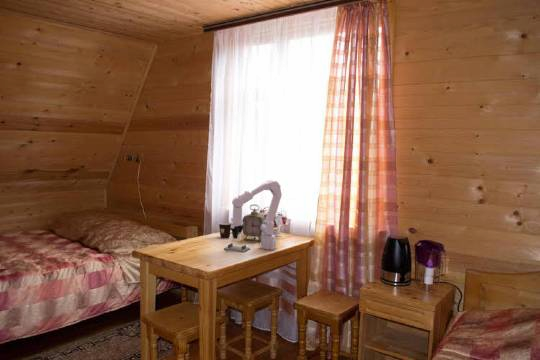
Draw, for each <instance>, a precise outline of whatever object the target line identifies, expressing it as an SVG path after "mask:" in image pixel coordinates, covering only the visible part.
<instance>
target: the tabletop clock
mask: <svg viewBox="0 0 540 360" xmlns="http://www.w3.org/2000/svg"><path fill="white" fill-rule="evenodd" d="M252 206H255V207H258V208H257V209H256V208H251V207H252ZM249 209H250V210H251V212H250V213H249V214H246V215H244V216H243V217H242V222H243V225H241V226H244V227H243V229H242V234H243V235H244V236H245V237H244V238H243V239H244V240H245V241H246V240H247V238H248V237H253V240H256V238H257V237H258V241H259V242H261V233H262V231H261V228H260V227H261V225H262V224H263V222H264V220H265V219H266V217H265V216H264V215H262V214H259V213H258V211H259V210H260V205H258V204H250V205H249Z"/></svg>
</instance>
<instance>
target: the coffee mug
mask: <svg viewBox="0 0 540 360" xmlns="http://www.w3.org/2000/svg"><path fill="white" fill-rule="evenodd" d="M231 223H232V222H227V221H225V222H223V221H222V222H219V224H218V225H219V236H220V237H219V238H221V239H230V238H229V237H230V236H231V235H232V231H231V229H230V227H231V225H232V224H231Z"/></svg>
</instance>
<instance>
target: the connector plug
mask: <svg viewBox="0 0 540 360" xmlns="http://www.w3.org/2000/svg"><path fill="white" fill-rule="evenodd" d="M242 234H243V232H238V236H237V239H235V238H233V233H231V241H233V242H234V241H235V242H240V241H242Z"/></svg>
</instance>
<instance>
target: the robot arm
mask: <svg viewBox="0 0 540 360" xmlns="http://www.w3.org/2000/svg"><path fill="white" fill-rule="evenodd" d="M264 191H270V193H271V194H272V198H271V202H270V205H269V206H268V207H269V208H268V211H267V214H266V217H265V220H264V222H263V224H262V225H261V227H260V228H261V231H262V233H261V236H260V239H261V241H260V246H259V247H258V249H262V250H264V249H265V250H270V251H272V250H274V249H276V248H277V235H275V234H273V233H274V227H275V218H276V214H277V212H278V208H279V204H280V202H281V198H282V190H281V184H280V183H279V182H278V181H276V180H273V179H269V180H267V181H265V182H263V183H261V184H259V185H258V186H257V187H256V188H254V189H252V190H251V191H249V190H248V191H246V190H245V191H244V193H242V194H240V195H238V196H237V197H236V196H235V197H234V198H233V199H232V201H231V203H232V222H230V223H231V227H230V229H231V230H230V232H232V233H233V238H235V239H237V236H238V232H241V233H243V230H242V229H243V227H244V226H242V225H243V206H244V204H246V203H248V202H250V201H251V200H252V199H254V196H256V195H258V194H260V193H262V192H264ZM232 233H231V234H232Z"/></svg>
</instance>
